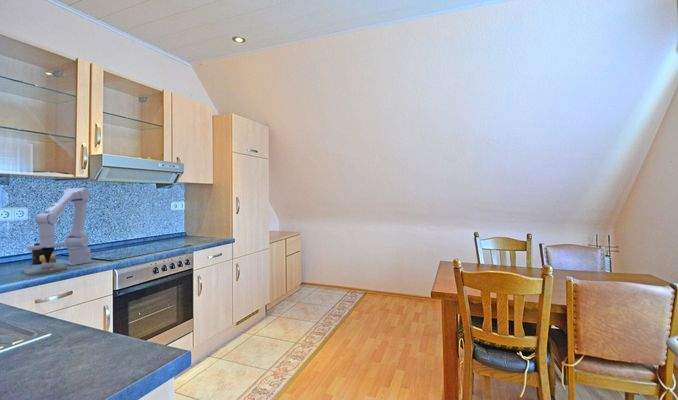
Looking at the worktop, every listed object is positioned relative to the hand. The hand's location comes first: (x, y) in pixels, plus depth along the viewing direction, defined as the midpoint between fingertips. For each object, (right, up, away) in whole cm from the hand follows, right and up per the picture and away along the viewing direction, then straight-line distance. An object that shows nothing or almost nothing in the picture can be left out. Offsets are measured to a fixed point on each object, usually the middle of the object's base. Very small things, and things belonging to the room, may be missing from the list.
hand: (47, 262), depth 159 cm
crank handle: (-2, 0, +3) cm, 4 cm away
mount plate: (-5, -5, +4) cm, 8 cm away
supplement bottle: (-25, -5, +22) cm, 34 cm away
